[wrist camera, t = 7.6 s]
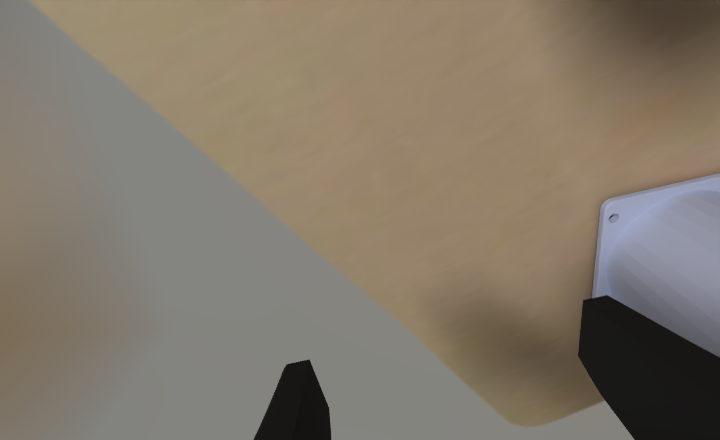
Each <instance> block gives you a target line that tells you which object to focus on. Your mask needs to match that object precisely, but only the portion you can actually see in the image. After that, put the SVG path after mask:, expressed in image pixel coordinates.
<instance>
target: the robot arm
mask: <svg viewBox="0 0 720 440" xmlns="http://www.w3.org/2000/svg"><path fill="white" fill-rule="evenodd" d="M613 214H614V215H613ZM611 215H613V216H612V217H611V218H610V219H609V217H610V216H611ZM578 356H579V358H580V360H581V361H582V363H583V365H584V367H585V368H586V370H587V372H588V374H589V375H590V377H591V379H592V380H593V382H594V384H595V385H596V387H597V389H598V390H599V392H600V394H601V395H602V396H603V398H604V399H605V401H606V402H607V403H608V405H609V406H610V407H611V409H612V410H613V411H614V413H615V414H616V415H617V416H618V418H619V419H620V421H621V422H622V423H623V425H624V426H625V427H626V429H627V430H628V431H629V433H630V434H631V435H632V437H633V438H634V439H635V440H720V173H718V174H714V175H709V176H705V177H700V178H696V179H692V180H687V181H683V182H679V183H674V184H670V185H665V186H661V187H657V188H652V189H648V190H644V191H639V192H635V193H630V194H626V195H622V196H617V197H613V198H610V199H607V200H606V201H605V202H604V203H603V204H602V205H601V209H600V218H599V229H598V239H597V250H596V260H595V271H594V281H593V292H592V298H591V299H587V300H583V308H582V319H581V330H580V341H579V352H578ZM329 415H330V414H329V407H328V404H327V402H326V400H325V397H324V394H323V392H322V390H321V387H320V385H319V382H318V380H317V377H316V375H315V372H314V370H313V367H312V365H311V362H310V360H305V361H300V362H296V363H291V364H287V365H286V367H285V368H284V370H283V372H282V375H281V378H280V380H279V383H278V385H277V388H276V390H275V392H274V395H273V398H272V400H271V402H270V405H269V407H268V409H267V411H266V414H265V416H264V418H263V420H262V423H261V425H260V427H259V429H258V432H257V434H256V436H255V438H254V440H331V428H330V416H329Z"/></svg>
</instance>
